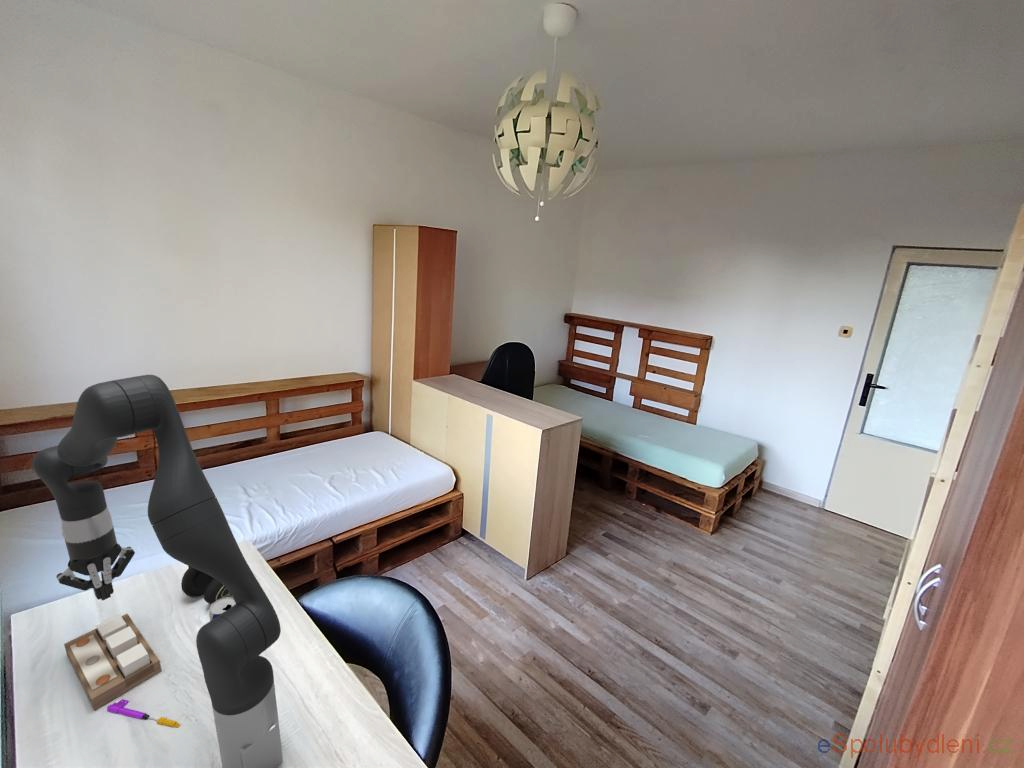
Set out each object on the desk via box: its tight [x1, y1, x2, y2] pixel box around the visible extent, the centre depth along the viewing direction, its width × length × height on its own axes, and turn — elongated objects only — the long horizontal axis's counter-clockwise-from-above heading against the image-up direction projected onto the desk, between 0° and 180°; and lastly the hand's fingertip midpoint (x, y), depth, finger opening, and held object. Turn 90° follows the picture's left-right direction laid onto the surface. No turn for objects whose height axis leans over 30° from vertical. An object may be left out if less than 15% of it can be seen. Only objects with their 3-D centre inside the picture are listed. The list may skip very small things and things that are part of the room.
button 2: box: [116, 643, 150, 678], centre depth 94 cm, size 4×4×3 cm
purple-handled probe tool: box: [106, 698, 182, 728], centre depth 88 cm, size 3×1×16 cm
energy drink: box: [208, 596, 236, 622], centre depth 101 cm, size 5×5×12 cm
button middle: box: [105, 626, 138, 659], centre depth 97 cm, size 4×4×3 cm
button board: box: [63, 613, 163, 711], centre depth 97 cm, size 20×11×4 cm, turn 55°
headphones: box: [180, 565, 231, 605], centre depth 114 cm, size 9×15×20 cm, turn 74°
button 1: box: [96, 614, 127, 642], centre depth 102 cm, size 4×4×3 cm
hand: (105, 597), depth 98 cm, fingers closed
